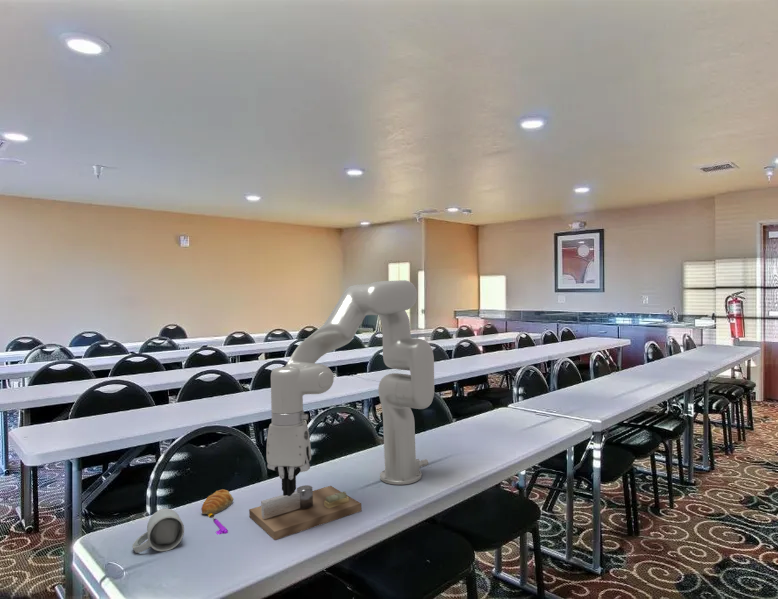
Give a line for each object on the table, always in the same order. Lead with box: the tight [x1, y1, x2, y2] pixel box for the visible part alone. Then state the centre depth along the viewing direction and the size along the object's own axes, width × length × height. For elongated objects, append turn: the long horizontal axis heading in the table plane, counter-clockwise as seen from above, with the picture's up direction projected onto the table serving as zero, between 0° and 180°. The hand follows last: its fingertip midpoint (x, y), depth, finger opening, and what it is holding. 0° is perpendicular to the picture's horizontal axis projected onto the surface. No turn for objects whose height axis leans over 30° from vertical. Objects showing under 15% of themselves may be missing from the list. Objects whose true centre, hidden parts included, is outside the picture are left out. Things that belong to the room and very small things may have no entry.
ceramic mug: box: [132, 508, 185, 554], centre depth 119 cm, size 11×8×8 cm
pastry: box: [200, 488, 234, 515], centre depth 139 cm, size 9×7×4 cm
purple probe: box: [206, 513, 229, 535], centre depth 130 cm, size 3×1×16 cm
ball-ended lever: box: [260, 484, 314, 519], centre depth 131 cm, size 14×4×4 cm, turn 126°
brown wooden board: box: [248, 485, 362, 541], centre depth 133 cm, size 24×16×5 cm, turn 126°
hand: (289, 493), depth 125 cm, fingers closed
